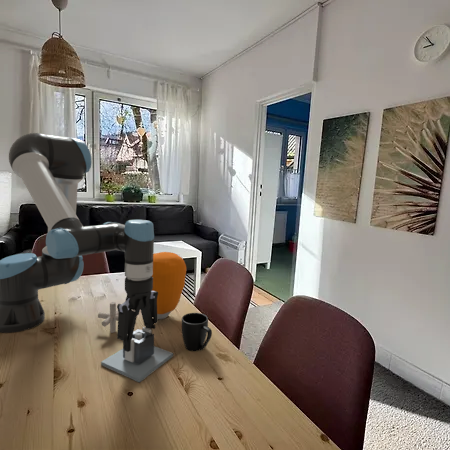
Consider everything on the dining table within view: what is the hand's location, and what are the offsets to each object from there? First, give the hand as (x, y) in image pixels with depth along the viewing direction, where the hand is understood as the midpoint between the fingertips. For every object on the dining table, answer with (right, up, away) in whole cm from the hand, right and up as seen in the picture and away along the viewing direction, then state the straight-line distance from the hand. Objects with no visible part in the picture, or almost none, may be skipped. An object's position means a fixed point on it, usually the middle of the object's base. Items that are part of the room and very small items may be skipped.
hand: (138, 354), depth 87 cm
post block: (0, -2, 0) cm, 2 cm away
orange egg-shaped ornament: (+1, +2, +28) cm, 28 cm away
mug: (+16, -2, +8) cm, 18 cm away
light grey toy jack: (-13, +1, +16) cm, 21 cm away
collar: (0, 0, 0) cm, 0 cm away
